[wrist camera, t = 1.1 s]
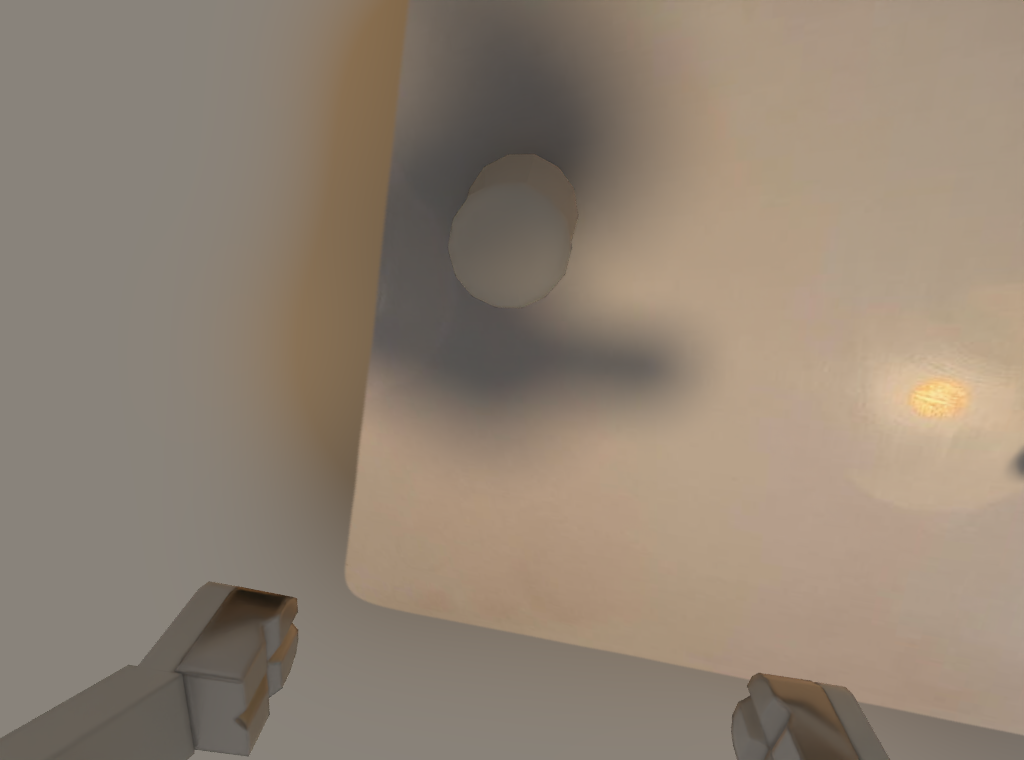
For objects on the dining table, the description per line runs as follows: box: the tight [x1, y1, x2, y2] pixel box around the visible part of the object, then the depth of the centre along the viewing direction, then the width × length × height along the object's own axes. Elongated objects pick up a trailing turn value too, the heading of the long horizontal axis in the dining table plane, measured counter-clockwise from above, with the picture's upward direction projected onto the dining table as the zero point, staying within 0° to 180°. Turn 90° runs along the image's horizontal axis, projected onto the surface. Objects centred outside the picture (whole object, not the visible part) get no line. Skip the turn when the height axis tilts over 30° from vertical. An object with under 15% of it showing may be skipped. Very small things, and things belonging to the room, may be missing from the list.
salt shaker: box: [448, 154, 578, 308], centre depth 23 cm, size 6×6×13 cm
